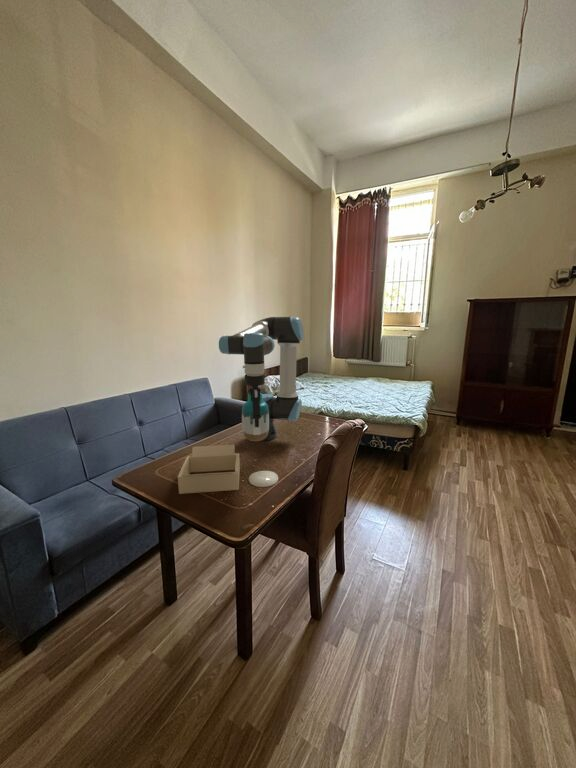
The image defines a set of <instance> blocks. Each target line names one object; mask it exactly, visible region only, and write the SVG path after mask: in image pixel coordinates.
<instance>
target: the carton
mask: <svg viewBox="0 0 576 768" xmlns="http://www.w3.org/2000/svg"><path fill="white" fill-rule="evenodd" d="M235 450H236V449H235V444H222V445H221V444H220V445H217V444H216V445H202V446H201V445H199V446H196V445H195V446H192V451H191V455H188V456H186V458H185V459H184V462H183V464H182V467H180V471H179V473H178V474H177V485H178V494H179V495H182V494H195V493H196V494H197V493H211V492H222V491H223V492H224V491H225V492H226V491H239V489H240V473H241V472H240V471H241V462H240V459H241V458H240V453H235ZM220 471H222V472H220ZM223 471H225V472H223ZM226 471H227V472H226ZM204 472H207V473H204ZM191 473H193V474H191Z"/></svg>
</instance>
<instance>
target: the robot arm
mask: <svg viewBox="0 0 576 768" xmlns="http://www.w3.org/2000/svg"><path fill="white" fill-rule="evenodd" d="M303 339H304V326H303V322H302V320H301V319H300V317H296V316H269V317H265V318H262V319H259V320H256V321H255V322H254V323H253V324H252V325H251V326H249V327H247V328H245V329H244V330H241V331H239V332H237V333H235V334H233V335H222V336H221V337H220V338H219V340H218V349H219V352H220V353H221V354H223V355H224V354H225V355H243V357H244V358H243V363H244V364H243V365H242V369H244V384H245V386H248V387H250V388H249V392H250V394H251V401H252V402H253V417H251V419H253V435H261V429H260V418H261V416H260V393H262V392H261V389H260V387H259V386H263V385H265V383H266V382H265V368H266V367H265V356H268V355H269V354H271V353H272V352H273V351H274V349H275V347H276V345H275V341H276V340H277V345H278V346H279V350H280V351H279V391H278V393H277V394H276V397H274V394H273V393H262V399H263V401H264V402H266V403H267V405H268V409H269V432H268V435H267V437H266V438H265V439H263V440H261V442H263V441H264V442H265V441H266V442H267V441H271V440H274V439H275V438H277V436H278V431H277V428H276V425H275V420H279V421H296V420H298V419H299V417H300V414H301V411H302V410H301V409H302V403H303V402H302V399H300V398H299V394H298V393H297V392H296V390H297V386H296V384H297V355H298V354H297V353H298V349H297V348H298V346H299V345H300V344H301V343H300V342H301V341H303ZM274 340H275V341H274ZM252 395H253V398H252Z"/></svg>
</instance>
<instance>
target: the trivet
mask: <svg viewBox="0 0 576 768" xmlns="http://www.w3.org/2000/svg"><path fill="white" fill-rule="evenodd" d="M278 481H279V476H278V474H277V473H275V472H274V471H270V470H258V471H255V472H253V473H251V474H250V475H249V477H248V483H250V485H251V486H253V487H257V488H268V487H272V486H274V485H275V484H277V482H278Z"/></svg>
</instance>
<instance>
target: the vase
mask: <svg viewBox="0 0 576 768" xmlns="http://www.w3.org/2000/svg"><path fill="white" fill-rule="evenodd" d="M262 394H263V392H261V393H260V416H261V418H260V429H261V435H253V419H251V417H253V402H252V401H251V394H250V391H249V392H248V393H247V401H245V402H244V403H243V405H242V408H241V424H242V425H241V427H242V433H243V436H244V437H245V439H247V440H248V441H251V442H260V441H261V440H263V439H265V438H266V437H267V435H268V432H269V409H268V405H267V403H266V402H264V401H263V399H262ZM252 398H253V395H252ZM261 442H262V441H261Z"/></svg>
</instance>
